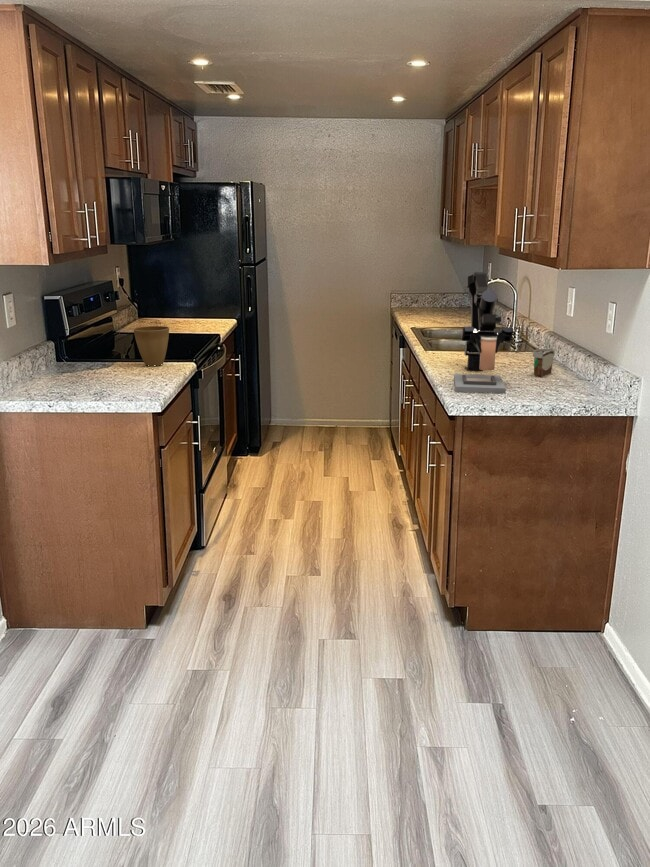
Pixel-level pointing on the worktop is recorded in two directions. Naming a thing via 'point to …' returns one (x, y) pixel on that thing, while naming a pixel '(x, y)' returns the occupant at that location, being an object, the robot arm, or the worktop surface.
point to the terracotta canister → (487, 353)
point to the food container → (543, 362)
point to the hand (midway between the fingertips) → (488, 352)
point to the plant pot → (152, 343)
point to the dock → (479, 383)
